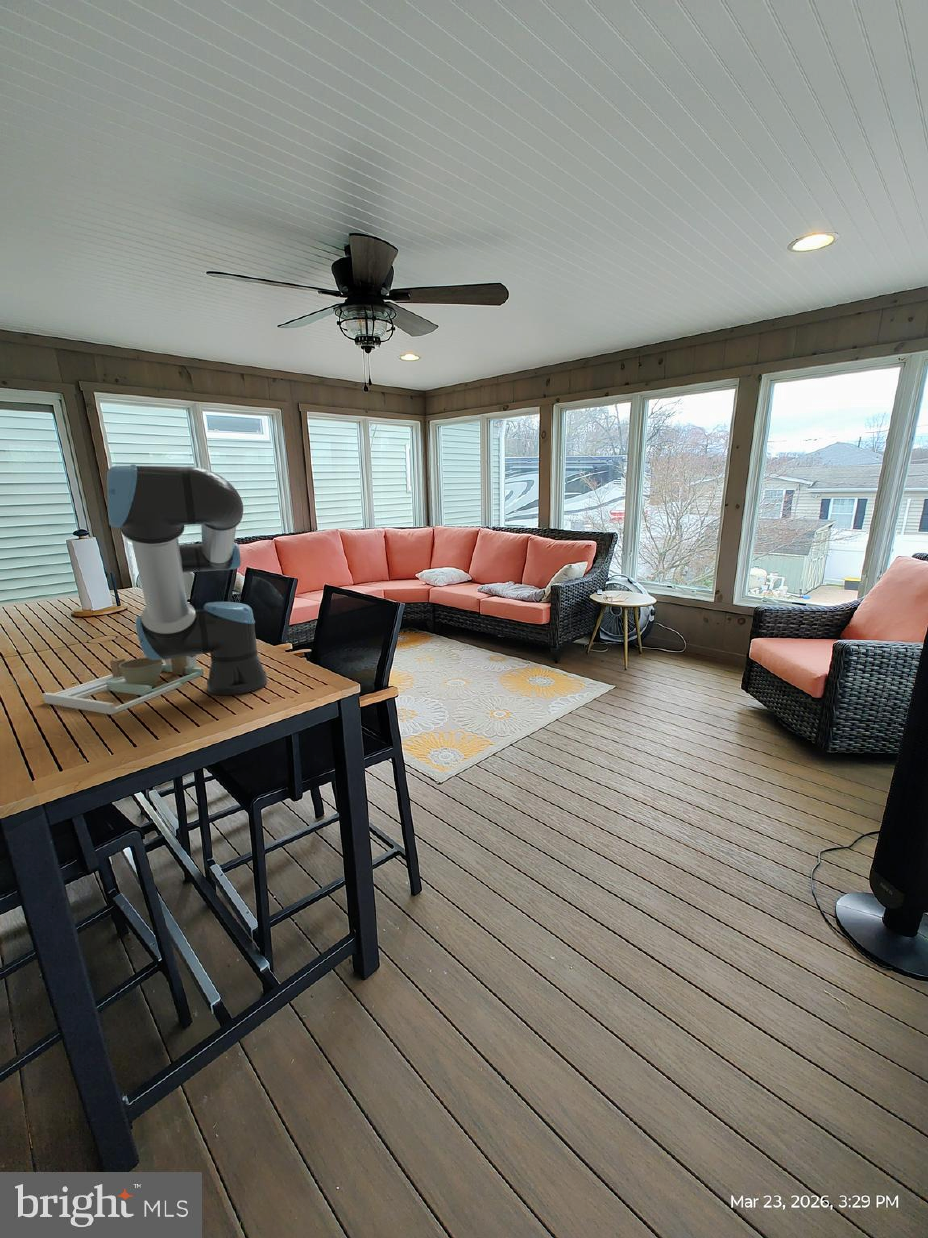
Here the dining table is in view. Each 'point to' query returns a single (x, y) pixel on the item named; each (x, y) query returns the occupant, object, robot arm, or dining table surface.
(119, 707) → the frame
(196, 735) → the dining table surface
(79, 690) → the pale long handled piece
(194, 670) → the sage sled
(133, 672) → the olive green bowl
